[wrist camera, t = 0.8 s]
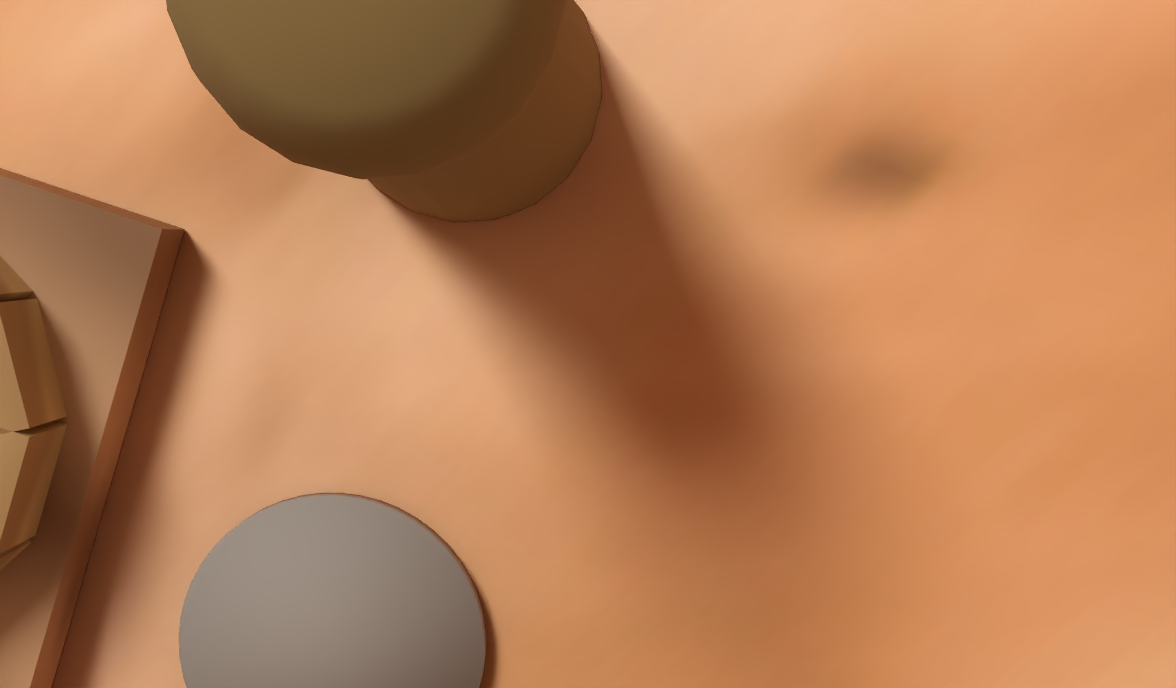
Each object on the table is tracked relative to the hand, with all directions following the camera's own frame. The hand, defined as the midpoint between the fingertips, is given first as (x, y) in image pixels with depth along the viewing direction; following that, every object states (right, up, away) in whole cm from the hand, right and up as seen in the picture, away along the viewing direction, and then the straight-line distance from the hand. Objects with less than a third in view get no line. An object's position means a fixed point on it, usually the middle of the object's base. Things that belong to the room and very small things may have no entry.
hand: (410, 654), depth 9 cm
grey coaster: (-4, -4, +15) cm, 16 cm away
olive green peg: (-1, +8, +14) cm, 17 cm away
